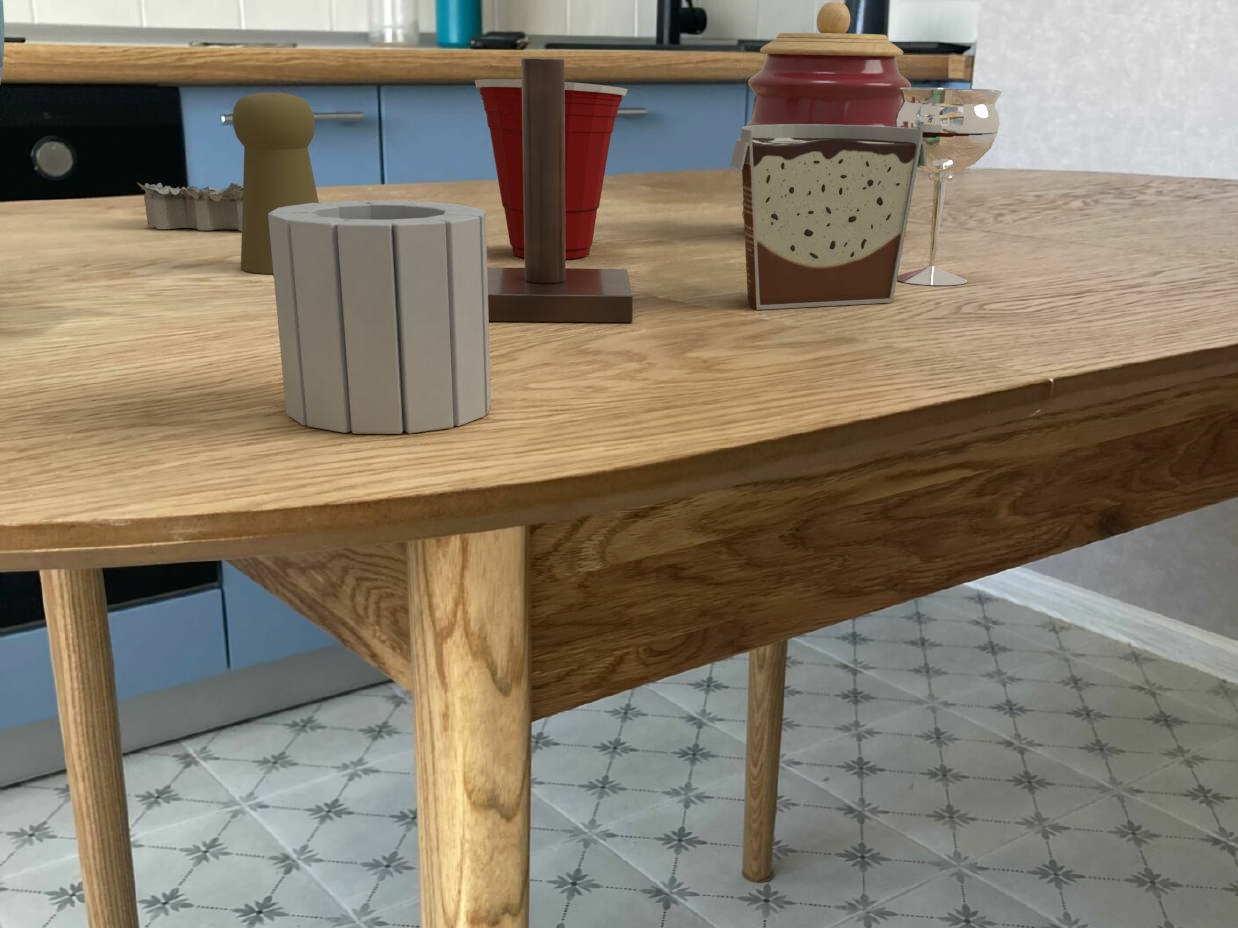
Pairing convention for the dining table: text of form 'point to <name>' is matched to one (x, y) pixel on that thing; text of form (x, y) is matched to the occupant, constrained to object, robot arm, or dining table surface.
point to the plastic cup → (584, 155)
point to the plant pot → (382, 314)
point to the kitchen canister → (828, 77)
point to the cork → (272, 167)
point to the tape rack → (551, 223)
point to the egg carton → (194, 207)
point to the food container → (825, 211)
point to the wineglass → (947, 149)
